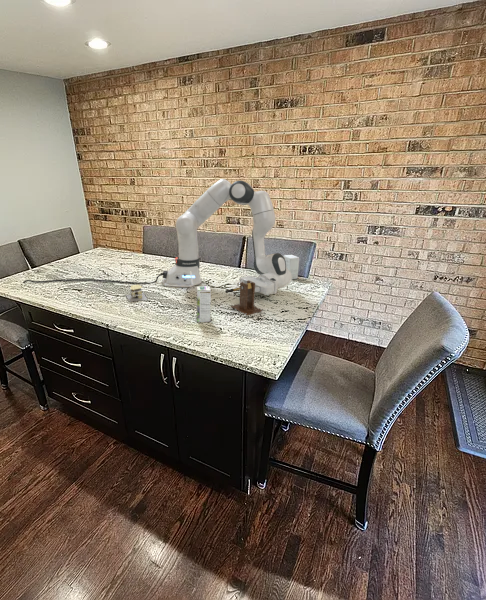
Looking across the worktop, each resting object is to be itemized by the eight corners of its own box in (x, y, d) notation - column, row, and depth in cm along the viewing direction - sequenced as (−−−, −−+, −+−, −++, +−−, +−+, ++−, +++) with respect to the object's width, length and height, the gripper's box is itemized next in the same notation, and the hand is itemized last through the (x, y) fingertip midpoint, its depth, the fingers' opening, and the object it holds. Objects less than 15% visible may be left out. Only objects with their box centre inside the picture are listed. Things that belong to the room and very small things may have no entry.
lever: (225, 294, 158) (224, 289, 158) (240, 290, 163) (239, 285, 163) (242, 290, 147) (240, 285, 147) (257, 286, 151) (256, 281, 151)
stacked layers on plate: (126, 295, 174) (125, 285, 172) (143, 293, 178) (142, 283, 176) (129, 301, 166) (128, 291, 164) (147, 299, 169) (146, 289, 167)
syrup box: (196, 316, 149) (196, 285, 143) (209, 316, 149) (209, 285, 144) (197, 322, 143) (196, 290, 138) (211, 321, 144) (211, 290, 139)
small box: (297, 278, 200) (299, 257, 195) (288, 280, 198) (290, 258, 193) (290, 275, 207) (292, 254, 202) (281, 276, 205) (282, 255, 200)
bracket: (230, 308, 157) (231, 280, 152) (245, 304, 162) (246, 277, 157) (247, 317, 148) (248, 288, 143) (262, 313, 152) (264, 284, 147)
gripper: (252, 271, 177) (231, 276, 170) (280, 281, 161) (258, 287, 154) (251, 283, 179) (230, 287, 172) (279, 294, 164) (257, 299, 157)
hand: (244, 287), depth 163 cm, fingers open, 8 cm apart
